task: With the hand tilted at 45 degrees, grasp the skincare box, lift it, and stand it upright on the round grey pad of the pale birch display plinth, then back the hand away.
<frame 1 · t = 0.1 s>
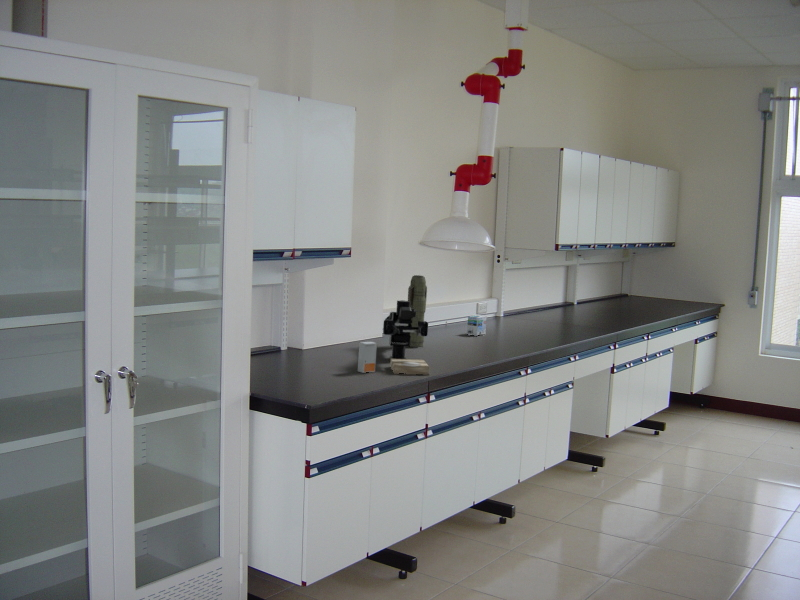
hand: (408, 331, 306), 17 cm above the worktop, tool horizontal, fingers open, 9 cm apart
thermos: (414, 346, 369), on the worktop
display plinth: (408, 370, 309), on the worktop
light bulb box: (476, 335, 418), on the worktop
skincare box: (366, 372, 302), on the worktop
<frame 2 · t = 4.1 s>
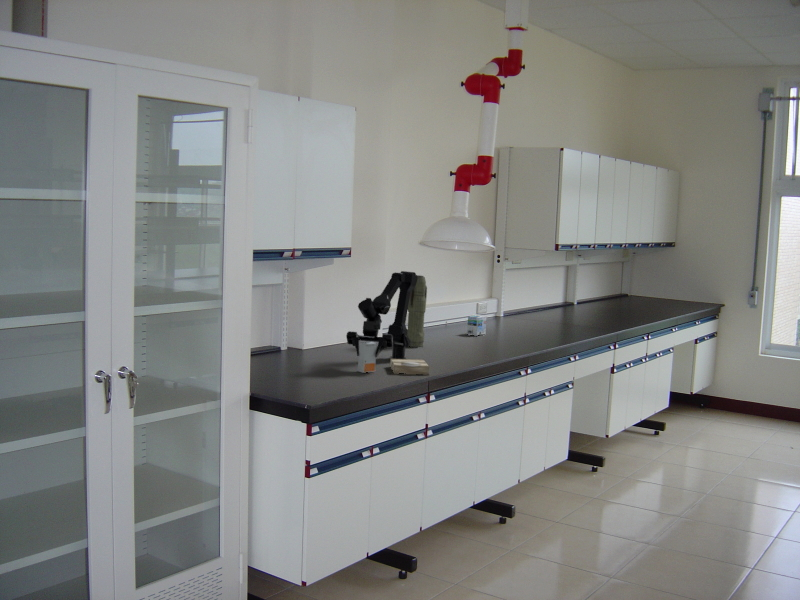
hand: (366, 356, 300), 7 cm above the worktop, tool tilted 45°, fingers closed on skincare box, 7 cm apart
skincare box: (366, 372, 302), on the worktop, touching gripper
everything else where it was.
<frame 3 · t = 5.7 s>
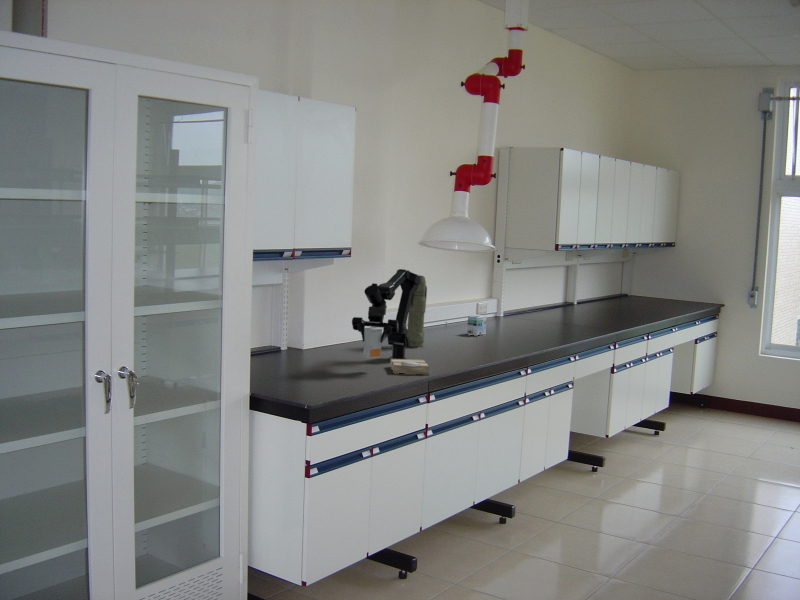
hand: (372, 341, 300), 13 cm above the worktop, tool tilted 45°, fingers closed on skincare box, 7 cm apart
skincare box: (372, 357, 302), point 6 cm above the worktop, touching gripper
everything else where it was.
when the fingers open (11 cm above the worktop, at t = 7.8 s): skincare box stays where it is, resting on display plinth.
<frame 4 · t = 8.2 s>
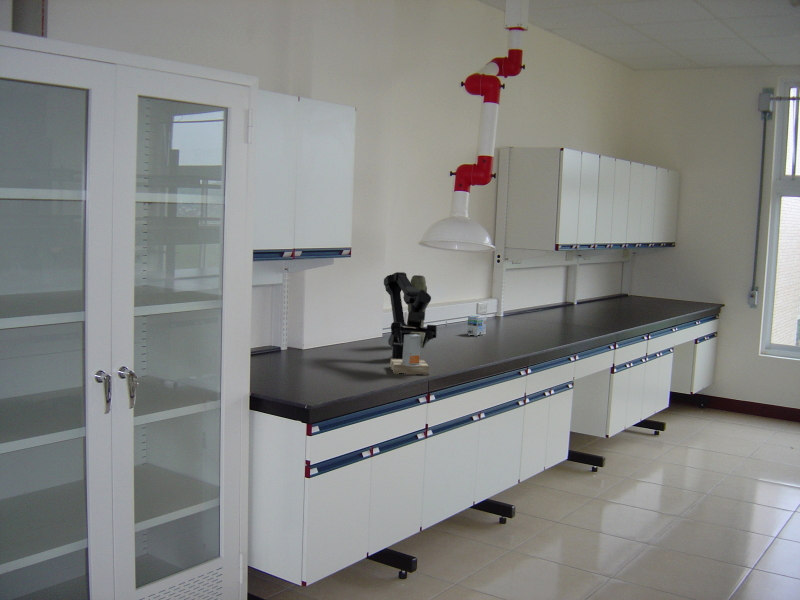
hand: (411, 346, 302), 11 cm above the worktop, tool tilted 45°, fingers open, 9 cm apart
skincare box: (410, 364, 304), point 3 cm above the worktop, touching display plinth
everything else where it was.
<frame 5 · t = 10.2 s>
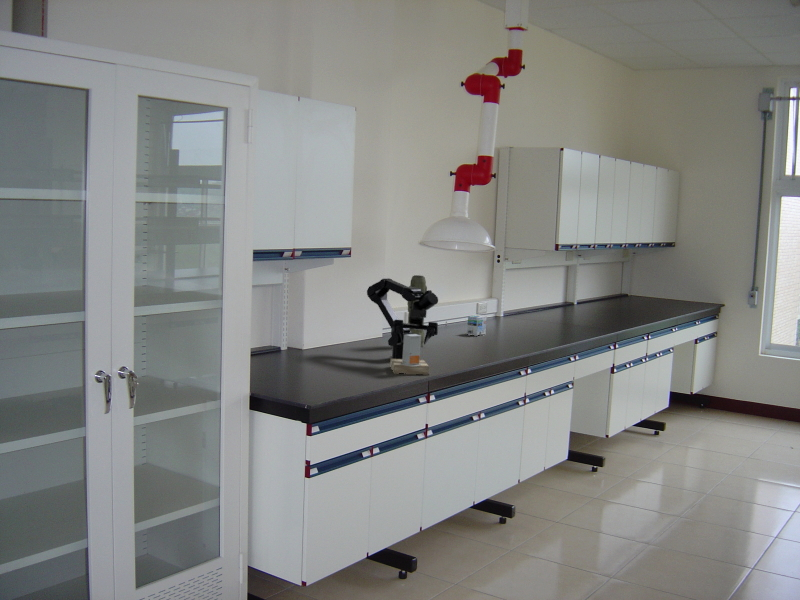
hand: (413, 343, 311), 11 cm above the worktop, tool tilted 45°, fingers open, 9 cm apart
nothing on the worktop moved.
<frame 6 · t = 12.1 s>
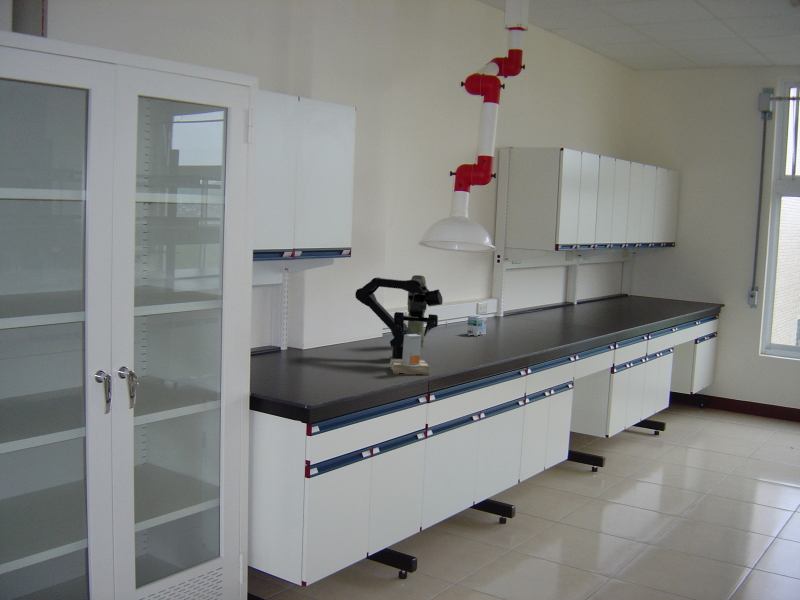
hand: (413, 335, 316), 14 cm above the worktop, tool tilted 45°, fingers open, 9 cm apart
nothing on the worktop moved.
at the end: skincare box inside the target area (3.1 cm from its centre), point 3.5 cm above the worktop; skincare box tilted 0°; the gripper is holding nothing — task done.
